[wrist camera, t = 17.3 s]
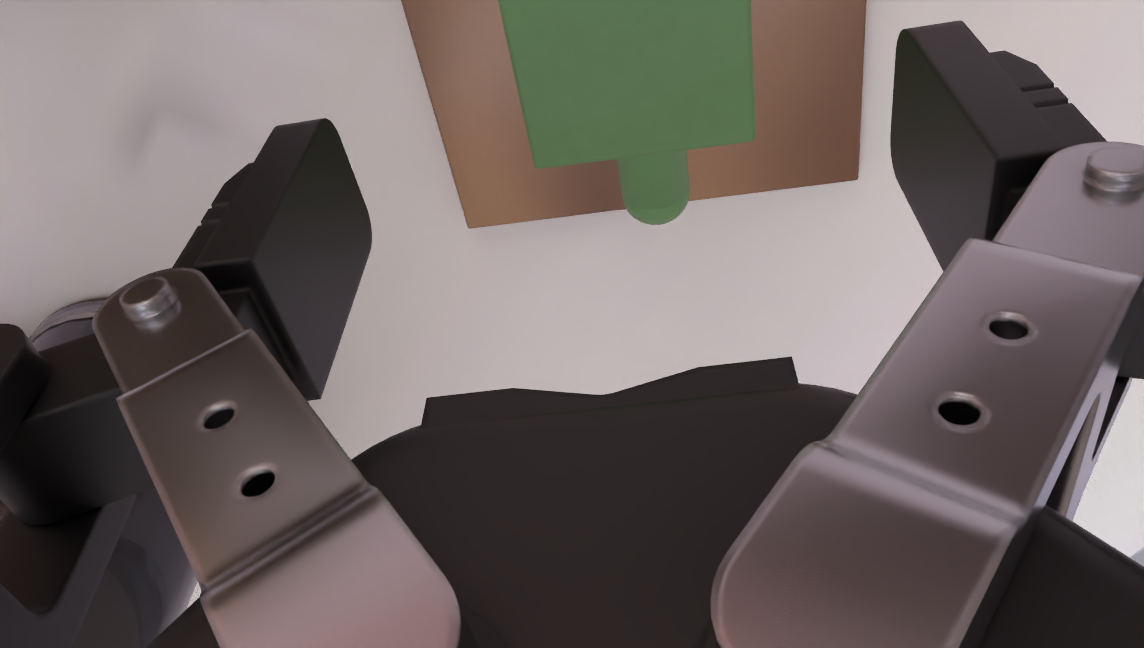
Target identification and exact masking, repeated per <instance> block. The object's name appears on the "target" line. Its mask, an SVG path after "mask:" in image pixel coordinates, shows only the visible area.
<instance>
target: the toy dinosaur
mask: <svg viewBox="0 0 1144 648" xmlns="http://www.w3.org/2000/svg"><path fill="white" fill-rule="evenodd" d="M498 4H499V8H500V13H501V18H502V22H503V27H504V31H505V36H506V40H507V45H508V49H509V54H510V59H511V63H512V68H513V72H514V77H515V81H516V86H517V90H518V95H519V100H520V104H521V109H522V113H523V118H524V122H525V127H526V131H527V136H528V141H529V145H530V150H531V154H532V159H533V163H534V166H535V167H536V169H543V168H551V167H559V166H567V165H574V164H582V163H590V162H598V161H605V160H613V159H616V162H617V169H618V176H619V182H620V189H621V195H622V200H623V203H624V205H625V207H626V209H627V210H628V212H629V213H630V214H631V215H632V216H633V217H634V218H636V219H637V220H639V221H641V222H643V223H646V224H651V225H660V224H665V223H667V222H670V221H672V220H673V219H675V218H676V217H678V216H679V215H680V214H681V213H682V211H683V210H684V209H685V207H686V205H687V203H688V200H689V196H690V182H689V171H688V160H687V150H690V149H698V148H706V147H714V146H721V145H729V144H737V143H745V142H751V141H754V139H755V136H756V131H755V101H754V72H753V43H752V13H751V0H498Z"/></svg>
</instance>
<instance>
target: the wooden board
mask: <svg viewBox="0 0 1144 648" xmlns="http://www.w3.org/2000/svg"><path fill="white" fill-rule="evenodd" d="M401 2H402V5H403V9H404V12H405V15H406V19H407V22H408V25H409V29H410V32H411V36H412V39H413V42H414V46H415V49H416V53H417V56H418V59H419V63H420V66H421V70H422V73H423V76H424V80H425V83H426V87H427V90H428V93H429V97H430V100H431V104H432V107H433V110H434V114H435V117H436V121H437V124H438V127H439V131H440V134H441V137H442V141H443V144H444V148H445V151H446V154H447V158H448V161H449V165H450V168H451V171H452V175H453V178H454V182H455V185H456V188H457V192H458V195H459V199H460V202H461V205H462V209H463V212H464V216H465V219H466V222H467V226H468V228H477V227H485V226H493V225H501V224H509V223H517V222H525V221H533V220H541V219H549V218H557V217H565V216H573V215H581V214H589V213H597V212H605V211H613V210H621V209H626V207H625V205H624V203H623V200H622V195H621V189H620V182H619V176H618V169H617V162H616V159H613V160H605V161H598V162H590V163H582V164H574V165H567V166H559V167H551V168H543V169H536V167H535V166H534V163H533V159H532V154H531V150H530V145H529V141H528V136H527V131H526V127H525V122H524V118H523V113H522V109H521V104H520V100H519V95H518V90H517V86H516V81H515V77H514V72H513V68H512V63H511V59H510V54H509V49H508V45H507V40H506V36H505V31H504V27H503V22H502V18H501V13H500V8H499V4H498V0H401ZM751 13H752V43H753V72H754V101H755V131H756V136H755V139H754V141H751V142H745V143H737V144H729V145H721V146H714V147H706V148H698V149H690V150H687V160H688V171H689V182H690V196H689V200H688V201H693V200H701V199H709V198H717V197H724V196H732V195H740V194H748V193H756V192H764V191H772V190H780V189H788V188H796V187H804V186H812V185H820V184H828V183H836V182H844V181H852V180H857V179H858V172H859V150H860V128H861V107H862V85H863V63H864V41H865V19H866V0H751Z"/></svg>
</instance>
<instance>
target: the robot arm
mask: <svg viewBox="0 0 1144 648" xmlns="http://www.w3.org/2000/svg"><path fill="white" fill-rule="evenodd" d="M891 157H892V163H893V168H894V172H895V176H896V179H897V181H898V183H899V185H900V187H901V189H902V191H903V193H904V195H905V197H906V199H907V201H908V203H909V205H910V207H911V208H912V210H913V212H914V214H915V216H916V218H917V220H918V222H919V224H920V226H921V228H922V230H923V232H924V234H925V236H926V238H927V240H928V242H929V244H930V246H931V248H932V250H933V252H934V254H935V256H936V258H937V260H938V262H939V264H940V266H941V268H942V270H943V274H942V275H941V277H940V278H939V279H938V281H937V282H936V284H935V285H934V287H933V288H932V289H931V291H930V292H929V294H928V295H927V297H926V298H925V299H924V301H923V302H922V304H921V305H920V307H919V308H918V309H917V311H916V312H915V314H914V315H913V317H912V318H911V319H910V321H909V322H908V324H907V325H906V327H905V328H904V330H903V331H902V332H901V334H900V335H899V337H898V338H897V340H896V341H895V342H894V344H893V345H892V347H891V348H890V350H889V351H888V352H887V354H886V355H885V357H884V358H883V360H882V361H881V362H880V364H879V365H878V367H877V368H876V370H875V371H874V372H873V374H872V375H871V377H870V378H869V380H868V381H867V382H866V384H865V385H864V387H863V388H862V390H861V391H860V392H859V394H858V395H857V394H853V393H850V392H846V391H842V390H838V389H835V388H829V387H823V386H817V385H809V384H799V383H798V379H797V375H796V371H795V368H794V364H793V360H792V357H785V358H777V359H768V360H759V361H750V362H741V363H732V364H723V365H714V366H706V367H698V368H695V369H691V370H688V371H685V372H681V373H678V374H675V375H671V376H668V377H665V378H661V379H658V380H655V381H651V382H648V383H645V384H642V385H638V386H635V387H632V388H628V389H625V390H622V391H618V392H615V393H611V394H605V395H591V394H579V393H566V392H554V391H541V390H529V389H517V388H510V389H501V390H492V391H484V392H475V393H466V394H457V395H448V396H439V397H430V398H427V399H426V404H425V409H424V414H423V419H422V424H421V425H420V426H417V427H414V428H411V429H408V430H406V431H403V432H401V433H399V434H396V435H394V436H391V437H389V438H387V439H385V440H384V441H382V442H380V443H378V444H376V445H374V446H372V447H370V448H369V449H367V450H366V451H364V452H362V453H361V454H359V455H358V456H356V457H355V458H353V459H352V460H351V459H350V458H349V457H348V455H347V454H346V453H345V451H344V450H343V449H342V447H341V446H340V445H339V443H338V442H337V441H336V439H335V438H334V437H333V435H332V434H331V433H330V431H329V430H328V429H327V427H326V426H325V425H324V423H323V422H322V421H321V419H320V418H319V417H318V415H317V414H316V413H315V411H314V410H313V409H312V407H311V406H310V405H309V403H308V402H307V401H308V400H317V399H321V396H322V393H323V390H324V387H325V384H326V381H327V378H328V375H329V372H330V369H331V366H332V363H333V360H334V358H335V355H336V352H337V349H338V346H339V343H340V340H341V337H342V334H343V331H344V328H345V325H346V322H347V319H348V316H349V313H350V310H351V307H352V304H353V301H354V298H355V295H356V292H357V289H358V286H359V283H360V280H361V277H362V274H363V271H364V268H365V265H366V262H367V259H368V256H369V253H370V250H371V244H372V231H371V223H370V218H369V214H368V210H367V208H366V205H365V202H364V200H363V197H362V194H361V192H360V189H359V186H358V184H357V181H356V178H355V176H354V173H353V171H352V168H351V165H350V163H349V160H348V157H347V155H346V152H345V149H344V147H343V144H342V142H341V139H340V136H339V134H338V132H337V130H336V128H335V126H334V125H333V123H332V122H331V121H330V120H328V119H326V118H324V119H318V120H311V121H305V122H298V123H292V124H285V125H279V126H276V127H275V128H274V129H273V131H272V132H271V134H270V136H269V137H268V139H267V141H266V143H265V144H264V146H263V148H262V149H261V151H260V153H259V154H258V156H257V158H256V160H255V161H254V163H249V164H247V165H246V166H245V167H244V168H243V169H241V170H240V171H239V172H238V173H237V174H235V175H234V176H233V177H232V178H231V179H229V180H228V181H227V182H226V183H225V184H224V185H223V186H222V188H221V190H220V191H219V193H218V195H217V196H216V198H215V199H214V201H213V203H212V204H211V205H212V208H211V209H208V211H207V212H206V214H205V216H204V217H203V219H202V221H201V224H202V226H198V227H197V229H196V230H195V232H194V234H193V235H192V237H191V238H190V240H189V242H188V243H187V245H186V247H185V248H184V250H183V251H182V253H181V255H180V256H179V258H178V260H177V261H176V263H175V264H174V266H173V268H171V269H165V270H161V271H157V272H154V273H151V274H148V275H145V276H143V277H140V278H138V279H136V280H134V281H132V282H130V283H128V284H127V285H125V286H123V287H122V288H120V289H119V290H117V291H116V292H115V293H113V294H112V295H111V296H110V297H109V298H108V299H106V300H96V301H88V302H82V303H78V304H74V305H70V306H68V307H65V308H63V309H61V310H59V311H57V312H55V313H53V314H52V315H50V316H49V317H48V318H46V319H45V320H44V321H43V322H42V323H41V324H40V326H39V327H38V328H37V329H36V331H35V332H34V333H33V335H32V336H31V337H30V339H28V337H27V336H26V335H25V334H24V332H23V331H22V330H21V329H20V328H19V327H17V326H15V325H11V324H0V648H1144V567H1143V566H1142V565H1140V564H1139V563H1137V562H1135V561H1134V560H1132V559H1131V558H1129V557H1127V556H1126V555H1124V554H1123V553H1121V552H1120V551H1118V550H1116V549H1115V548H1113V547H1112V546H1110V545H1109V544H1107V543H1105V542H1104V541H1102V540H1101V539H1099V538H1098V537H1096V536H1094V535H1093V534H1091V533H1090V532H1088V531H1087V530H1085V529H1083V528H1082V527H1080V526H1079V525H1077V524H1075V523H1074V522H1072V521H1073V518H1074V515H1075V513H1076V510H1077V507H1078V504H1079V502H1080V499H1081V497H1082V494H1083V492H1084V489H1085V487H1086V485H1087V482H1088V480H1089V478H1090V475H1091V473H1092V471H1093V469H1094V466H1095V464H1096V462H1097V459H1098V457H1099V455H1100V453H1101V450H1102V448H1103V446H1104V444H1105V441H1106V439H1107V437H1108V434H1109V432H1110V430H1111V428H1112V425H1113V423H1114V421H1115V419H1116V416H1117V414H1118V412H1119V409H1120V407H1121V405H1122V403H1123V400H1124V398H1125V396H1126V394H1127V391H1128V389H1129V387H1130V384H1131V381H1132V378H1138V379H1144V146H1142V145H1137V144H1131V143H1123V142H1107V141H1106V140H1105V139H1104V138H1103V137H1102V135H1101V134H1100V133H1099V132H1098V131H1097V130H1096V129H1095V128H1094V127H1093V126H1092V125H1091V123H1090V122H1089V121H1088V120H1087V119H1086V118H1085V117H1084V116H1083V115H1082V114H1081V113H1080V112H1079V110H1078V109H1077V108H1076V107H1075V106H1074V105H1073V104H1072V103H1069V104H1068V98H1067V97H1066V96H1065V95H1064V94H1063V93H1062V92H1061V91H1060V90H1059V89H1058V88H1057V87H1056V88H1054V83H1053V82H1052V81H1051V80H1050V79H1049V78H1048V77H1047V76H1046V75H1045V73H1044V72H1043V71H1042V70H1041V69H1040V68H1039V67H1038V66H1037V65H1036V64H1034V63H1032V62H1029V61H1027V60H1025V59H1022V58H1020V57H1018V56H1016V55H1013V54H1011V53H1009V52H1007V51H999V52H992V53H989V52H988V51H987V49H986V48H985V47H984V46H983V45H982V43H981V42H980V41H979V40H978V39H977V38H976V36H975V35H974V34H973V33H972V32H971V30H970V29H969V28H968V27H967V26H966V24H965V23H964V22H963V21H954V22H947V23H941V24H934V25H928V26H921V27H915V28H909V29H903V30H902V31H901V32H900V34H899V37H898V41H897V47H896V58H895V74H894V90H893V105H892V121H891ZM197 581H198V582H199V585H200V588H201V594H200V597H199V598H198V599H197V600H196V601H195V602H194V603H193V604H192V605H191V606H190V607H189V608H187V606H188V603H189V601H190V598H191V596H192V594H193V591H194V589H195V586H196V584H197ZM186 608H187V609H186Z"/></svg>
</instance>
